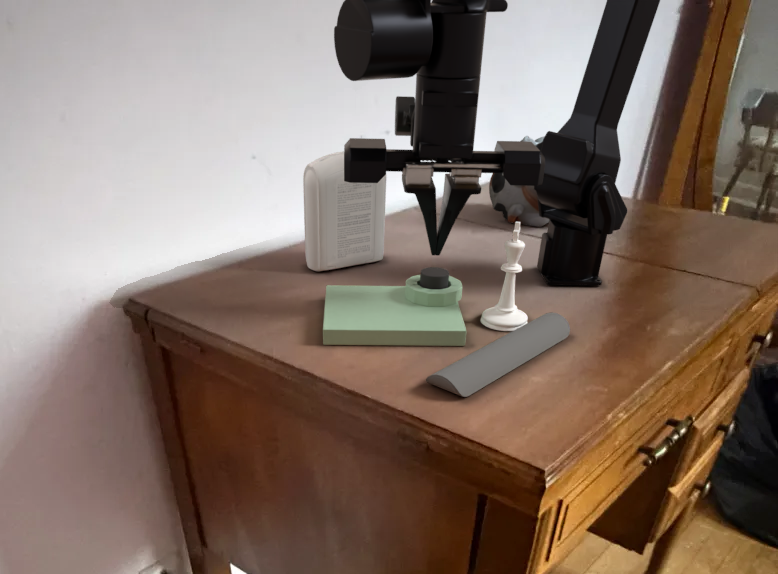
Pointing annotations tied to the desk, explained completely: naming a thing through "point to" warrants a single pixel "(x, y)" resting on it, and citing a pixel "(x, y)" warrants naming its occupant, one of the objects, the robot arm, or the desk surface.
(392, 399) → the desk surface
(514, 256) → the chess piece
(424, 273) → the button
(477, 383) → the gray half cylinder
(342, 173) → the white rounded block
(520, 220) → the lucky cat figurine
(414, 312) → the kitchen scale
